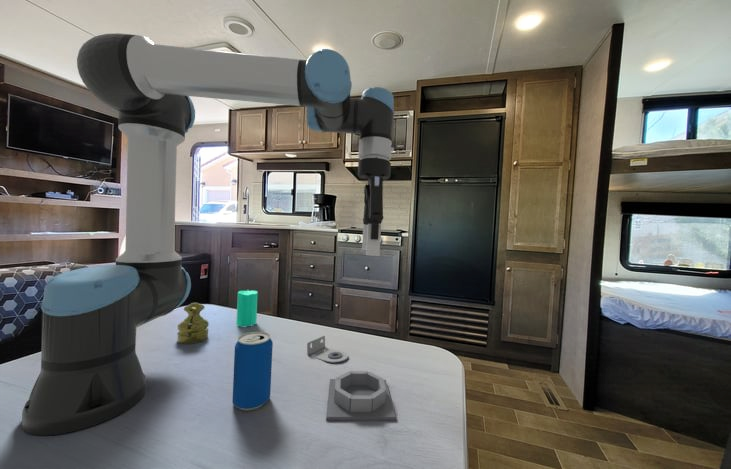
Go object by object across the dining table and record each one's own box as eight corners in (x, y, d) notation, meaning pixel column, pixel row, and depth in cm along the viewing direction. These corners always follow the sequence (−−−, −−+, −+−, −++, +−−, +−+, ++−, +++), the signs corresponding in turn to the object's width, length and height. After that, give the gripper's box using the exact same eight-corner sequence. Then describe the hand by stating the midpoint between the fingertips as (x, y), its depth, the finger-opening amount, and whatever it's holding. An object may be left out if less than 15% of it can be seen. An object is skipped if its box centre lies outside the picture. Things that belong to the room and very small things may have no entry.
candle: (232, 325, 89) (233, 288, 89) (243, 320, 95) (245, 284, 95) (249, 328, 88) (251, 290, 88) (259, 321, 94) (261, 286, 94)
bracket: (337, 368, 66) (337, 353, 66) (306, 355, 72) (307, 342, 72) (353, 358, 72) (353, 344, 72) (323, 347, 77) (324, 335, 77)
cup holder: (326, 420, 48) (326, 402, 48) (329, 381, 60) (330, 367, 60) (395, 420, 48) (396, 403, 48) (385, 382, 60) (386, 368, 60)
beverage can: (277, 399, 53) (280, 336, 52) (246, 418, 47) (249, 347, 47) (255, 387, 56) (258, 328, 56) (224, 403, 51) (227, 338, 50)
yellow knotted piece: (200, 332, 83) (202, 298, 83) (213, 338, 78) (214, 303, 78) (172, 339, 77) (173, 303, 77) (184, 346, 72) (185, 308, 72)
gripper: (402, 145, 52) (395, 259, 52) (383, 172, 77) (379, 249, 77) (362, 142, 52) (355, 257, 52) (356, 170, 76) (352, 248, 77)
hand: (369, 252), depth 65 cm, fingers open, 13 cm apart
